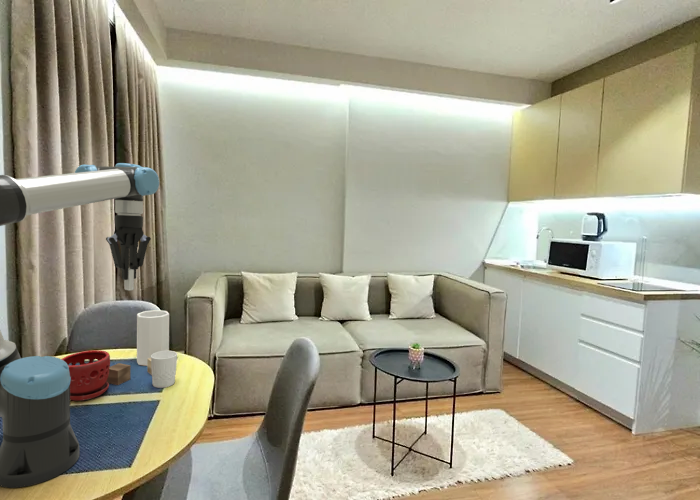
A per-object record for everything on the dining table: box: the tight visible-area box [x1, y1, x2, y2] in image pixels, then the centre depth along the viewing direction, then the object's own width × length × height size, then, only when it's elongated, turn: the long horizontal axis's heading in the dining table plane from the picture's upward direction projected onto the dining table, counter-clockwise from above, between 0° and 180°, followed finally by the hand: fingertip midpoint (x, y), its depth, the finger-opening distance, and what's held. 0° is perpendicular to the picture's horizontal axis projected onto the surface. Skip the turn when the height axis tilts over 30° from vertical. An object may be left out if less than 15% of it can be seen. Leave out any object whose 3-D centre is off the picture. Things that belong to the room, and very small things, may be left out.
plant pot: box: [61, 349, 111, 402], centre depth 120 cm, size 13×13×12 cm
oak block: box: [146, 358, 152, 376], centre depth 140 cm, size 5×5×5 cm
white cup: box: [151, 350, 178, 389], centre depth 131 cm, size 8×8×10 cm
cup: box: [136, 309, 170, 367], centre depth 149 cm, size 11×11×18 cm
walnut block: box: [106, 362, 132, 386], centre depth 131 cm, size 5×5×5 cm
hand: (128, 289), depth 123 cm, fingers closed
